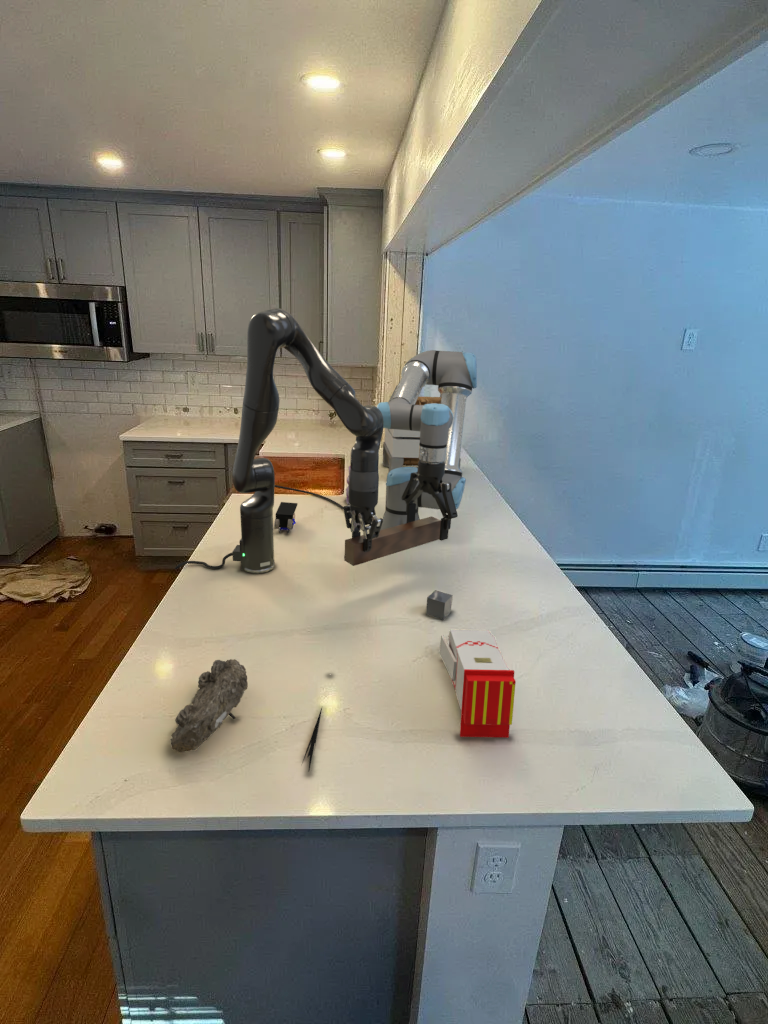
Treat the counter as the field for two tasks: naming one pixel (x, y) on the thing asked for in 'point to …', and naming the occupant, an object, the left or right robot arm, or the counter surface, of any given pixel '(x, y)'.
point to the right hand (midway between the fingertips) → (426, 532)
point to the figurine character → (285, 516)
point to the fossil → (210, 704)
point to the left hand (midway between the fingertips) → (361, 548)
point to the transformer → (404, 442)
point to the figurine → (347, 488)
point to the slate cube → (439, 604)
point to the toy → (479, 682)
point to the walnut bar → (393, 540)
